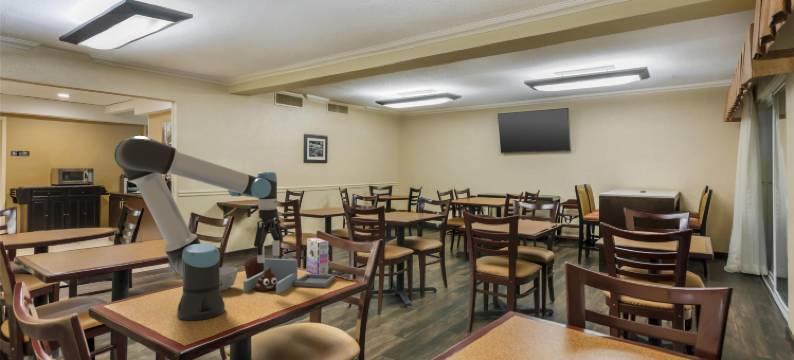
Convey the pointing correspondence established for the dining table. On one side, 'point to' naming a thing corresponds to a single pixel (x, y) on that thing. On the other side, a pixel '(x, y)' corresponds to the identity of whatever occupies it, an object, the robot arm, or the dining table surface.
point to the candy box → (318, 256)
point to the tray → (314, 280)
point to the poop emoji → (266, 281)
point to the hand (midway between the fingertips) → (268, 259)
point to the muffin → (253, 267)
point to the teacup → (226, 277)
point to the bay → (276, 274)
